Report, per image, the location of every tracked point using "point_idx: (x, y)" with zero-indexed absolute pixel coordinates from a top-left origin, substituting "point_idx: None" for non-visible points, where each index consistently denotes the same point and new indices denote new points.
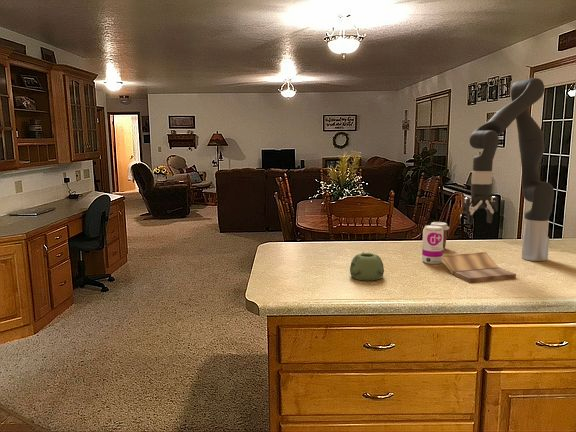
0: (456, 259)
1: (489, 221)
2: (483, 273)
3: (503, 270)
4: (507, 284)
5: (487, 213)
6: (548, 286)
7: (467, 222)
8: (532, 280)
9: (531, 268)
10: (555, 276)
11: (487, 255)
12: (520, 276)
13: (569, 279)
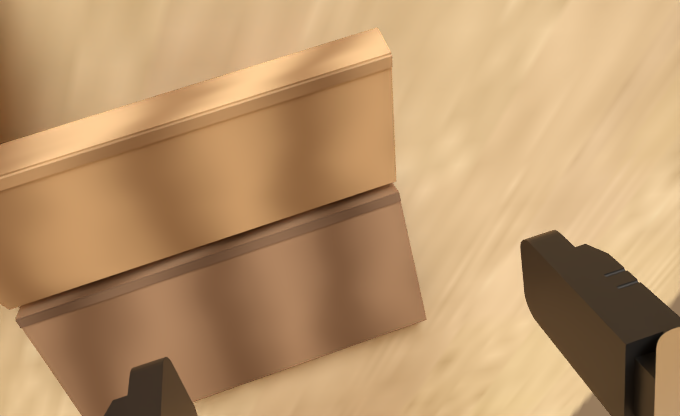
0: (39, 213)
1: (539, 311)
2: (223, 335)
3: (388, 257)
4: (313, 408)
5: (623, 355)
6: (494, 405)
7: (116, 405)
8: (481, 331)
9: (644, 87)
10: (647, 251)
11: (378, 93)
12: (462, 268)
13: (670, 294)
